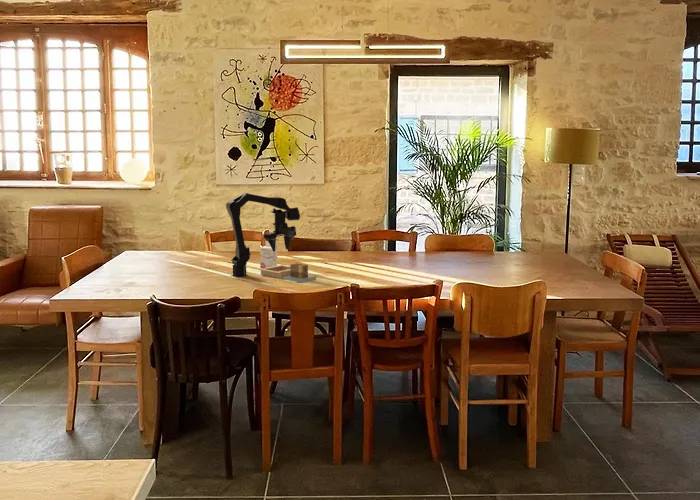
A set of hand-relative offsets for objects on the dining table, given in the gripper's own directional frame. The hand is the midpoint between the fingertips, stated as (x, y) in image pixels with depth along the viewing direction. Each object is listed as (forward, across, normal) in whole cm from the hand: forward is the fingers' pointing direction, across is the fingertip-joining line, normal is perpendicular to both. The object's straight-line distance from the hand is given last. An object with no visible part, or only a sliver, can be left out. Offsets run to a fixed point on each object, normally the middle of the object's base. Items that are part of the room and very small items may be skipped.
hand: (280, 250), depth 396 cm
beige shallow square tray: (+12, -5, -5) cm, 14 cm away
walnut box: (+10, -6, -20) cm, 23 cm away
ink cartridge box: (+12, +5, +15) cm, 20 cm away
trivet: (+12, -6, -20) cm, 24 cm away
